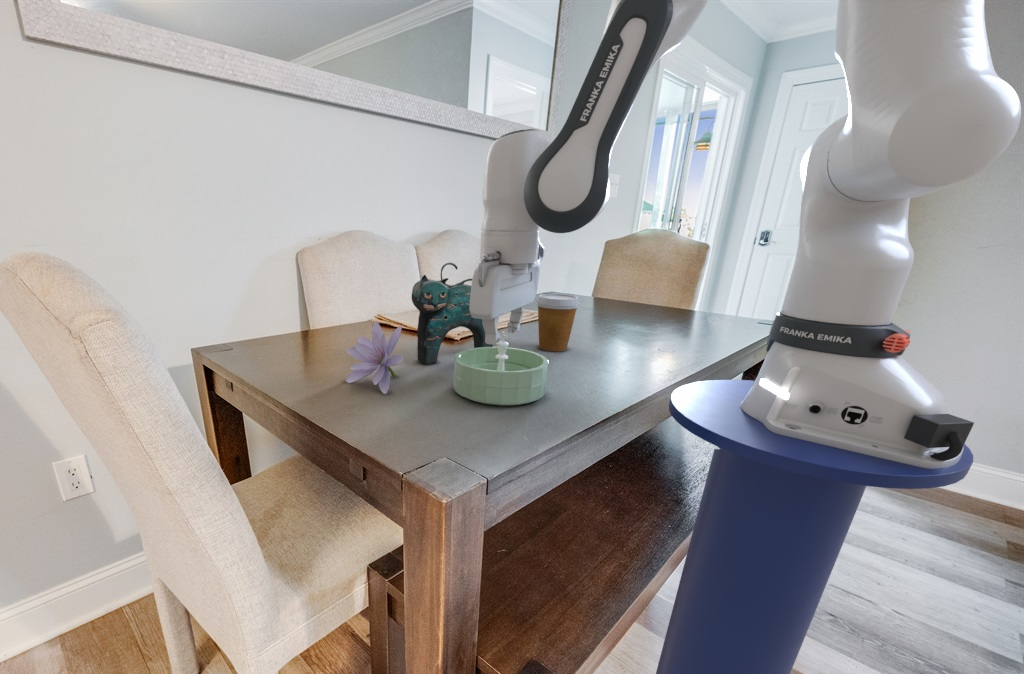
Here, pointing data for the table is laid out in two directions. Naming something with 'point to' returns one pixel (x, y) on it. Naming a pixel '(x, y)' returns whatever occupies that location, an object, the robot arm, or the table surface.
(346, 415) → the table surface
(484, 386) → the mint green pet bowl
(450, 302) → the ceramic cat
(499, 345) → the chess piece
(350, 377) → the water lily
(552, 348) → the disposable coffee cup
